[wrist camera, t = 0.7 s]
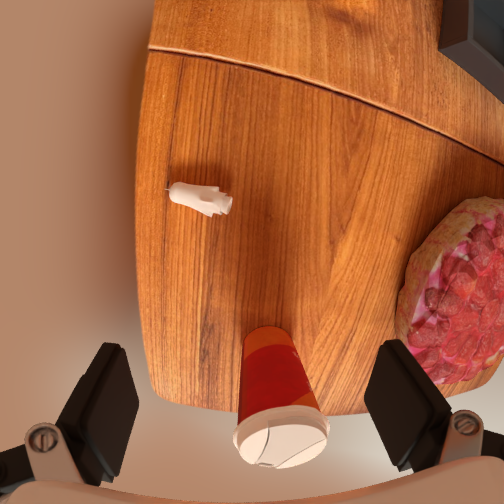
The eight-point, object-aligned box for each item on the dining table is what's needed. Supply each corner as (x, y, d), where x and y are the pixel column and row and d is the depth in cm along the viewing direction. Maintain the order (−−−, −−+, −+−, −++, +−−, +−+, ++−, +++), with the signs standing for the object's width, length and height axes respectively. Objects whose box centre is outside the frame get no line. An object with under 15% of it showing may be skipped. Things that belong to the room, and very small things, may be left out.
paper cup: (280, 378, 34) (299, 475, 21) (221, 359, 32) (217, 462, 19) (315, 330, 32) (354, 426, 19) (252, 305, 30) (263, 408, 17)
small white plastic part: (185, 158, 25) (179, 159, 23) (238, 198, 27) (238, 204, 24) (162, 189, 26) (153, 194, 23) (213, 228, 28) (210, 238, 25)
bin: (444, -20, 18) (467, -34, 13) (510, 36, 20) (535, 31, 15) (438, 50, 22) (467, 40, 17) (508, 108, 24) (536, 108, 19)
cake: (539, 219, 28) (574, 236, 20) (481, 359, 37) (503, 388, 29) (426, 167, 27) (470, 178, 19) (361, 359, 36) (378, 403, 28)
